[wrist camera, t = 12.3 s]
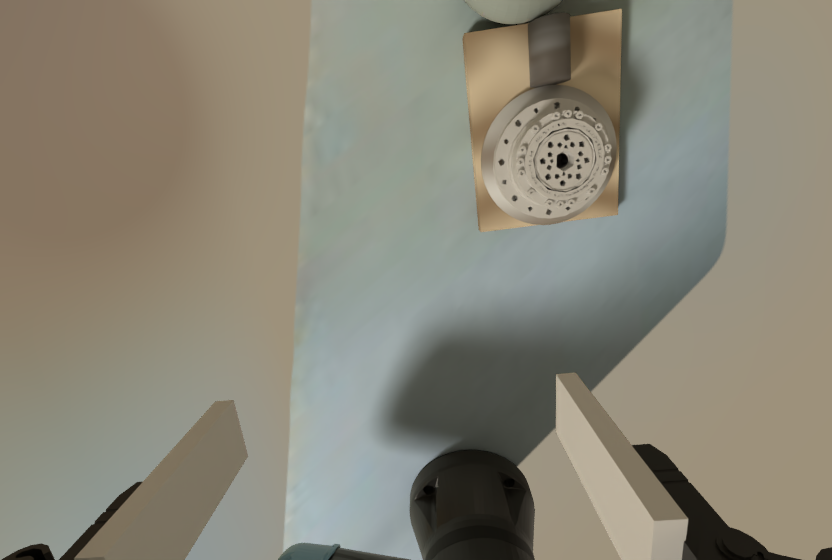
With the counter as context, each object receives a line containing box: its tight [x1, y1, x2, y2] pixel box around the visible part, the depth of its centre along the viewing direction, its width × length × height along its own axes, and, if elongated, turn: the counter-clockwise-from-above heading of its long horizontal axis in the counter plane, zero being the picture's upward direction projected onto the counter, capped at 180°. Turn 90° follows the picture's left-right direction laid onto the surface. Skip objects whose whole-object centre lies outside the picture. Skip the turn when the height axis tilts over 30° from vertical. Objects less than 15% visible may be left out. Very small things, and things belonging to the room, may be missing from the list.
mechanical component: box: [493, 98, 612, 219], centre depth 32 cm, size 10×4×10 cm
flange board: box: [463, 9, 622, 232], centre depth 33 cm, size 17×13×5 cm
